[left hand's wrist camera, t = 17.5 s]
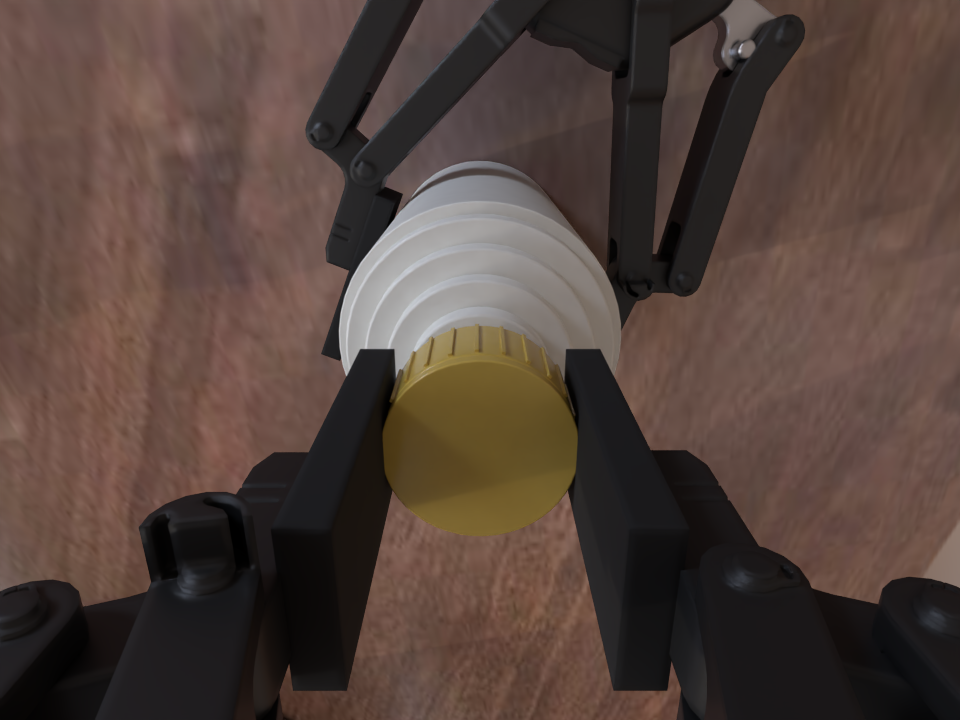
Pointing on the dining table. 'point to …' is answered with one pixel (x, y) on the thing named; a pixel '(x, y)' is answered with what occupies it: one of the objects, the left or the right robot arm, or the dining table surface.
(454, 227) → the bottle
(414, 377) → the cap
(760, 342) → the dining table surface
